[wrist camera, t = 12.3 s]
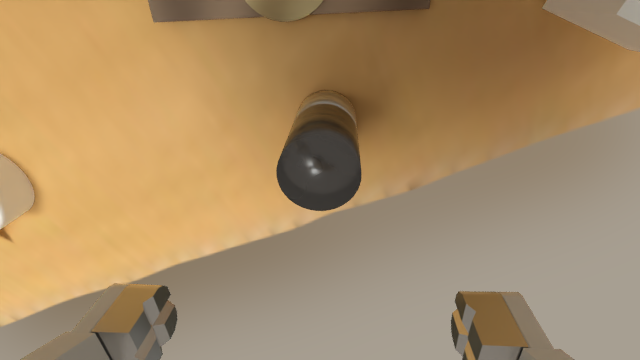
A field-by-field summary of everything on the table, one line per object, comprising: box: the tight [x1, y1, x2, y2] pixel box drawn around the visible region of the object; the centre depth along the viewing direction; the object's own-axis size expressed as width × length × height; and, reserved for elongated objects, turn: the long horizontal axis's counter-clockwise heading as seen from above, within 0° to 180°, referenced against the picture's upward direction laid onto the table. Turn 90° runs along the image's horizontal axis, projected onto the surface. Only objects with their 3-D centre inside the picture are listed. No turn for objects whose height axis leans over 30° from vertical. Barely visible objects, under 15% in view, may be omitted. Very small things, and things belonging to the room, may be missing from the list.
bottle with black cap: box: [277, 90, 361, 211], centre depth 19 cm, size 4×4×8 cm
